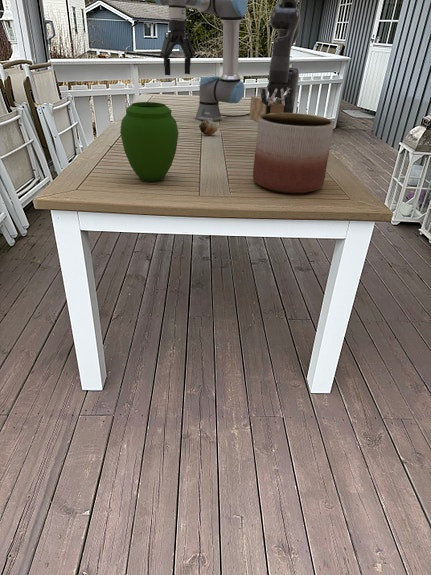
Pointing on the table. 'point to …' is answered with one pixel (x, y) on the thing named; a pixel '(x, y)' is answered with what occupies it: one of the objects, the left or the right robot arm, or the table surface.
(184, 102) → the table surface
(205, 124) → the seashell
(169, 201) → the table surface
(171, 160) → the vase
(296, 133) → the planter
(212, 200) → the table surface
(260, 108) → the bar
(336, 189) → the table surface
